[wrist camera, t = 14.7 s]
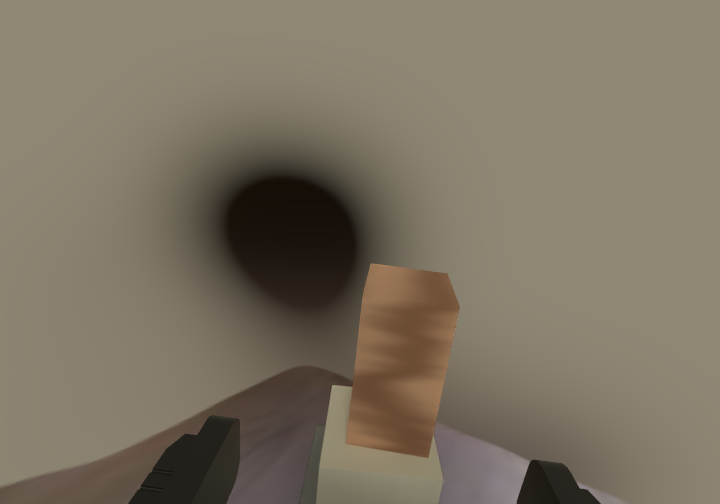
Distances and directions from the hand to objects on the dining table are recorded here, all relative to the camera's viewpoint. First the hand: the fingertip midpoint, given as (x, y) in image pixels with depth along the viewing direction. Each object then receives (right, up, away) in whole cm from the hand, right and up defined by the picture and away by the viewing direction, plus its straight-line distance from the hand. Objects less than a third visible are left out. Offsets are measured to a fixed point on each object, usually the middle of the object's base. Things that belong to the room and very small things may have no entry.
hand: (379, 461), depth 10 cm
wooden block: (+1, -6, +14) cm, 15 cm away
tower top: (0, -10, +15) cm, 18 cm away
